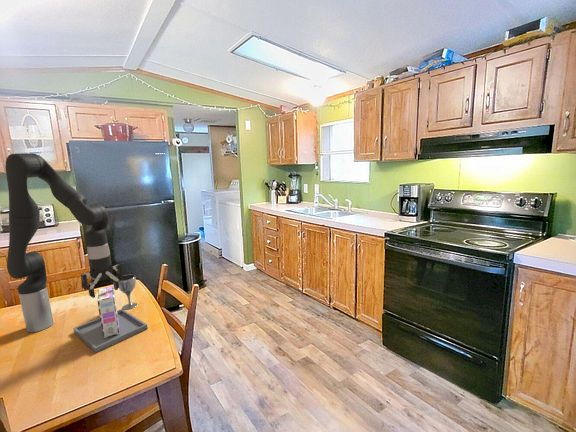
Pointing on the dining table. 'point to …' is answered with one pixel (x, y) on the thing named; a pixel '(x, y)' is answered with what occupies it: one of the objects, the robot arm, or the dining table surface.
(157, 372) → the dining table surface
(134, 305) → the wine glass
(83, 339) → the tray
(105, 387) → the dining table surface
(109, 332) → the candy box
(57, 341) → the dining table surface
